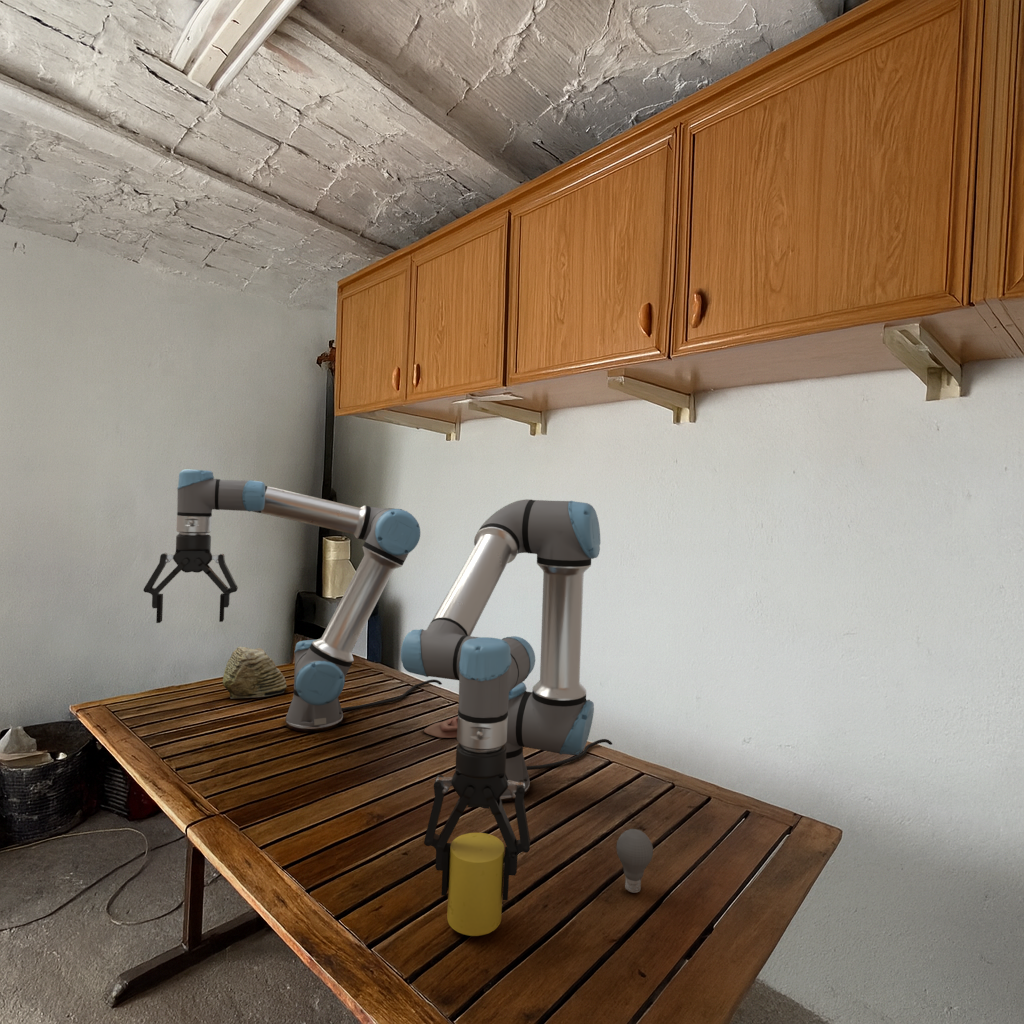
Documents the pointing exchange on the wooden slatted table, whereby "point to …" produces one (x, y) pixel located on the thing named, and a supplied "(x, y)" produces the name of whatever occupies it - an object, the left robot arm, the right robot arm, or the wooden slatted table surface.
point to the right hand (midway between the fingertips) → (475, 892)
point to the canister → (475, 883)
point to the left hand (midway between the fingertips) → (190, 621)
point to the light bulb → (634, 857)
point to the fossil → (252, 674)
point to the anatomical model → (443, 728)
